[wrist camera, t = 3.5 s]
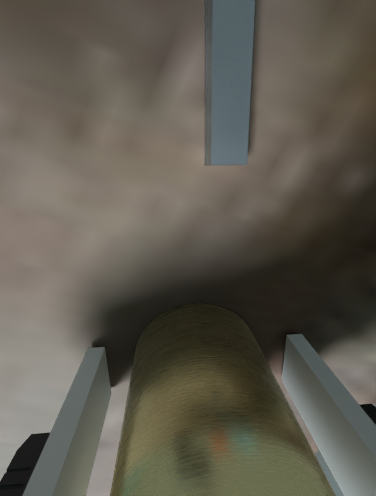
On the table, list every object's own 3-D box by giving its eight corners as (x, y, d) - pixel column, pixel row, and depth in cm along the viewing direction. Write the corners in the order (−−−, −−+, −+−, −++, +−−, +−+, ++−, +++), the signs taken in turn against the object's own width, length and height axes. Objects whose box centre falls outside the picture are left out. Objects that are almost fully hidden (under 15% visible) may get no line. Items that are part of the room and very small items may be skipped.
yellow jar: (129, 307, 11) (-43, 938, 2) (259, 299, 12) (609, 800, 2) (139, 408, 13) (73, 984, 4) (252, 399, 14) (436, 900, 4)
